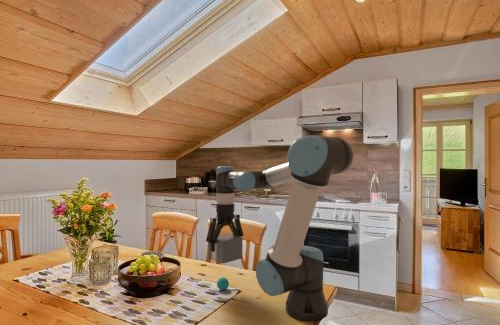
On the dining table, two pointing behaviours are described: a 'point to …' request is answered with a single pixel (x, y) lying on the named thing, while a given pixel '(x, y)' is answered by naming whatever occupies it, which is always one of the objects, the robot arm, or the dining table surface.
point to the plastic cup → (154, 254)
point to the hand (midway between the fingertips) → (225, 256)
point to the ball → (222, 283)
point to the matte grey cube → (227, 248)
